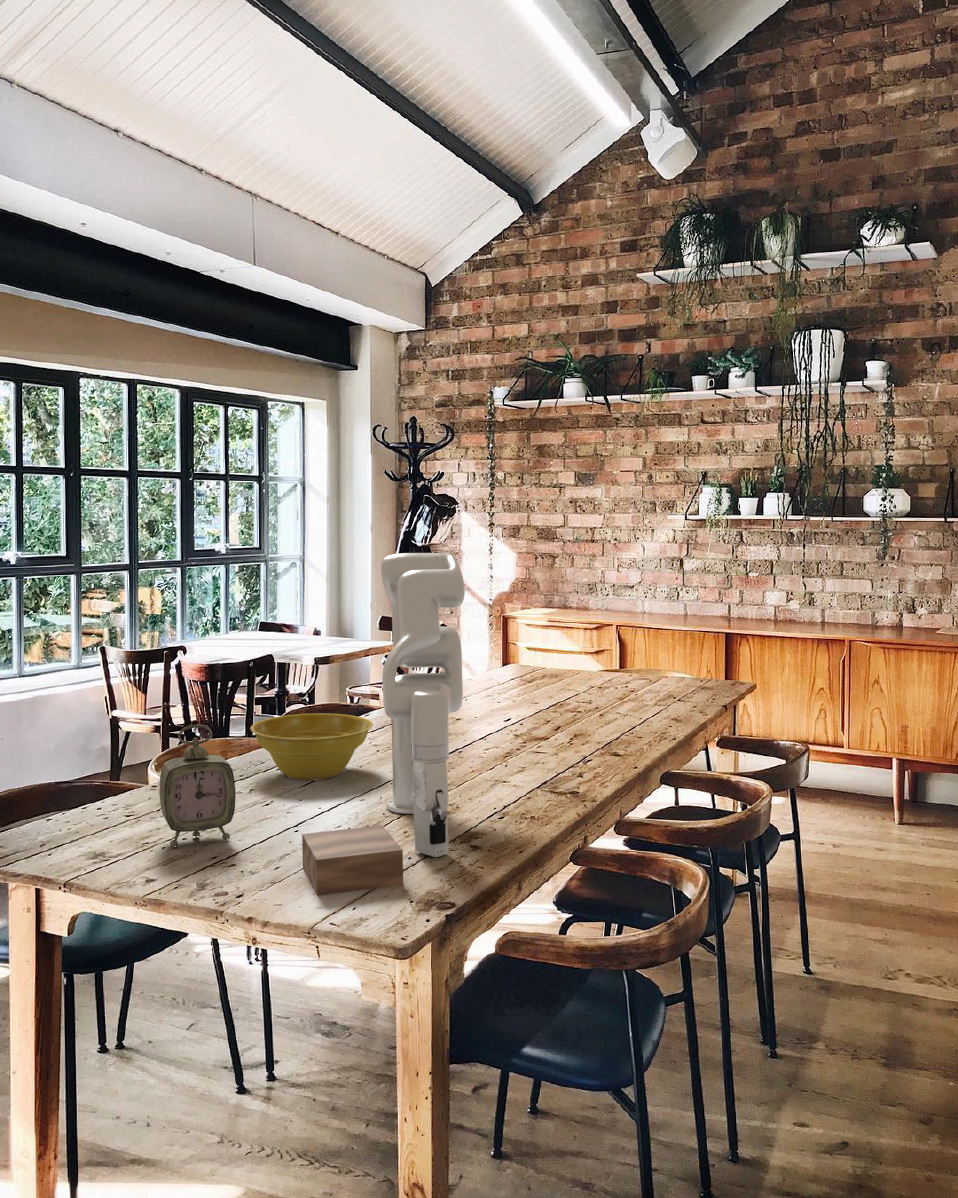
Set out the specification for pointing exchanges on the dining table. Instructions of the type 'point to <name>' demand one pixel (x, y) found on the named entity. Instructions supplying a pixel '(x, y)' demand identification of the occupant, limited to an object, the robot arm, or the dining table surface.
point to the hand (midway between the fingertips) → (430, 837)
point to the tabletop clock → (197, 790)
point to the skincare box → (427, 833)
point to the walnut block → (352, 860)
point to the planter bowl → (311, 742)
